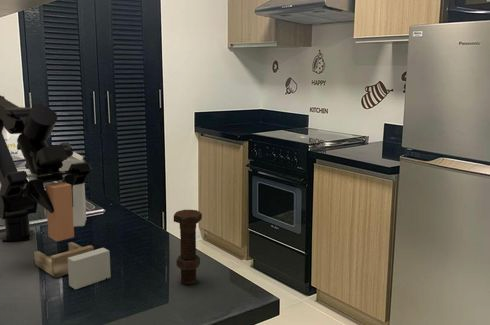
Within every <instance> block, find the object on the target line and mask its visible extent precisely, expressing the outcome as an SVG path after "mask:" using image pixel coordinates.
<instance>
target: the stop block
mask: <svg viewBox="0 0 490 325" xmlns="http://www.w3.org/2000/svg"><path fill="white" fill-rule="evenodd" d="M67 275H68V286H70V287H71V288H73V290H78V289H81V288H83V287H87V286H90V285H93V284H96V283H98V282H101V281H104V280H106V278H107V279H110V278H111V255H110V250H109V249H107V248H105V247H101V248H97V249H94V250H93V251H90V252H86V253H83V254H79V255H76V256H72V257H69V258H68V274H67Z"/></svg>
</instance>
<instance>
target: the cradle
mask: <svg viewBox="0 0 490 325" xmlns="http://www.w3.org/2000/svg"><path fill="white" fill-rule="evenodd" d="M67 245H68V247H67V248H68V250H67V251H64V252H59V253H57V254H53V255H49V256H48V255H46V254H45V253H43V252H41V251H40V250H36V251H33V253H34V255H33V256H34V265H35V266H37V267H38V268H39V269H41V270H42V271H44V272H45V273H47V274H48V275H50V276H52V277H53V278H55V279H57V278H61V277H64V276H67V275H69V274H68V258H69V257H72V256H76V255H79V254H83V253H86V252H90V251H93V250H95V248H94V246H93V245H92V244H90V245H86V246H81V245H79V244H77V243H75V242H73V241H71V242H68V243H67Z"/></svg>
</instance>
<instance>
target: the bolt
mask: <svg viewBox="0 0 490 325" xmlns="http://www.w3.org/2000/svg"><path fill="white" fill-rule="evenodd" d="M202 220H203V213H202V212H201V211H199V210H197V209H181V210H177V211H176V212H175V213H174V215H173V222H174V223H177V224H179V234H180V235H179V237H180V240H179V241H180V243H179V244H180V249H179V250H180V255H179V256H178V257H177V258H176V262H175V263H176V267H177V268H179V269H180V282H181V283H182V284H184V285H191V284H195V283H196V281H197V269H198V268H199V266H200V264H201V257H200V256H199V255H198V254H197V230H196V229H197V224H199V223H200V221H202Z"/></svg>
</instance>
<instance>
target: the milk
mask: <svg viewBox="0 0 490 325" xmlns="http://www.w3.org/2000/svg"><path fill="white" fill-rule="evenodd" d="M71 147H72V148H73V146H72V145H71ZM81 162H84V157H83V155H81V154H79V153H77V152H75V151H73V155H72V156H71V157H69V158H67V160H64V161H62V164H63V166H62V168H59V171H68V170H69V168H70V166H71V164H74V163H81ZM85 184H86V183H83V184H79V185H73V223H74V228H76V227H84V226H85V225H86V223H87V222H86V221H87V207H86V206H87V204H86V189H85Z"/></svg>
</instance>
